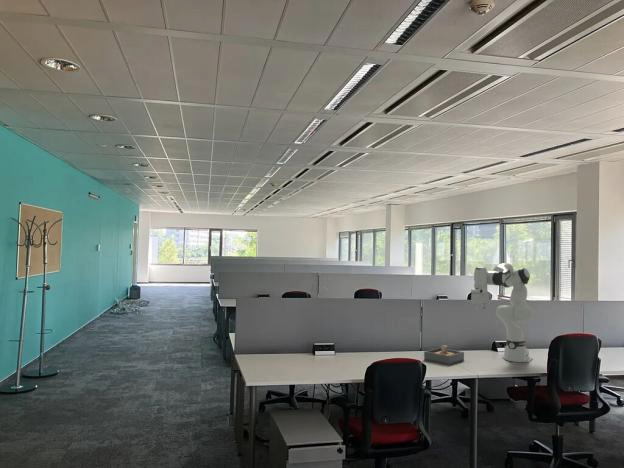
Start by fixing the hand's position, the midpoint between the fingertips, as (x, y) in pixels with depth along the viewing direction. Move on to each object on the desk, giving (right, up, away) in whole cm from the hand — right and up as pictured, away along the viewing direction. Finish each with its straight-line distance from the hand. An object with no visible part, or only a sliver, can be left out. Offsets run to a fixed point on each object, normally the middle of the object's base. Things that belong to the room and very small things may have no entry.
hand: (480, 309), depth 324 cm
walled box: (-24, -37, +6) cm, 45 cm away
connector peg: (-24, -36, +6) cm, 44 cm away
